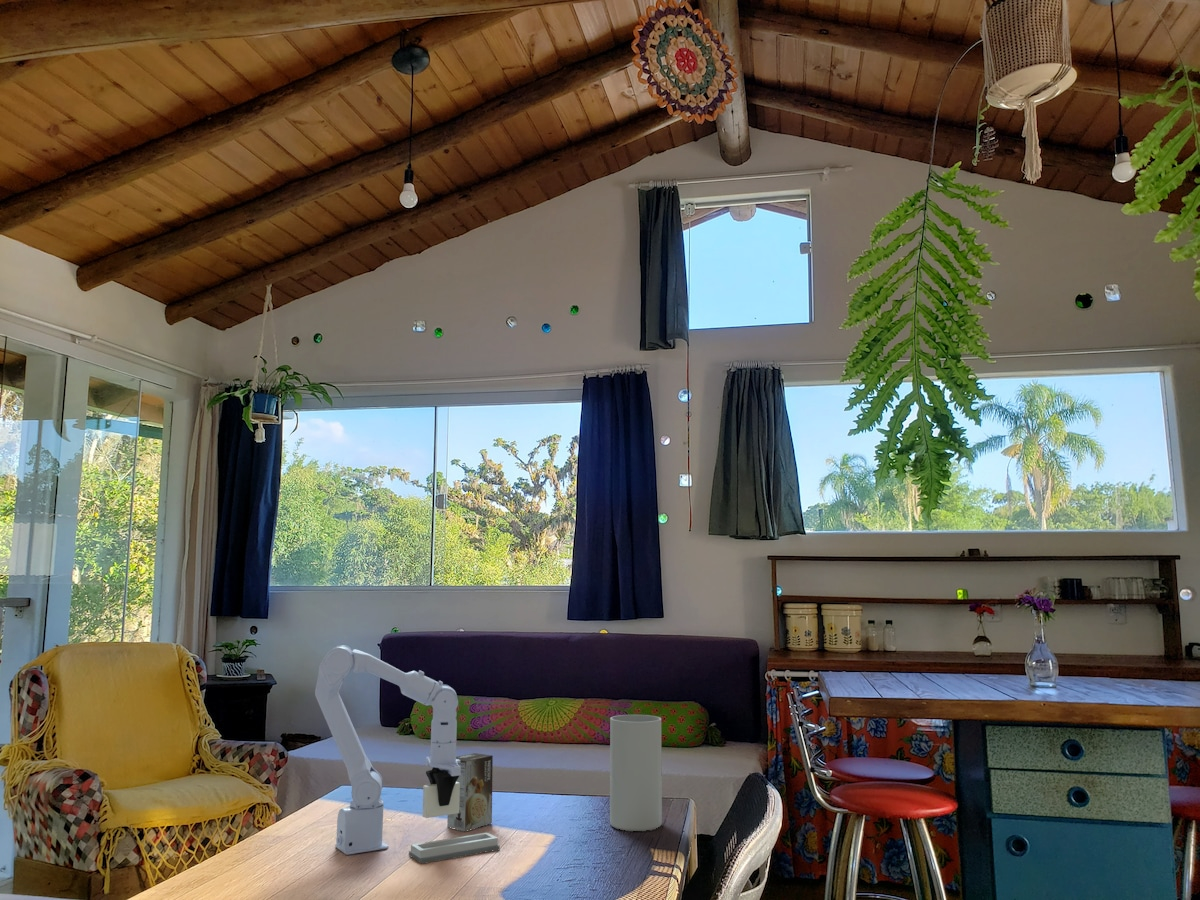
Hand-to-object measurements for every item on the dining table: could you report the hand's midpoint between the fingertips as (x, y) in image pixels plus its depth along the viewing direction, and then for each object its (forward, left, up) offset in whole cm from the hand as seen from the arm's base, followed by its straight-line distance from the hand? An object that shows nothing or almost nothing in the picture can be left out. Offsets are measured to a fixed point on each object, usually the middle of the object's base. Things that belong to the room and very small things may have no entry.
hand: (441, 804), depth 200 cm
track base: (0, -8, -8) cm, 11 cm away
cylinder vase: (+46, -11, -9) cm, 48 cm away
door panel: (0, 0, -2) cm, 2 cm away
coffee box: (+12, +10, -9) cm, 18 cm away
